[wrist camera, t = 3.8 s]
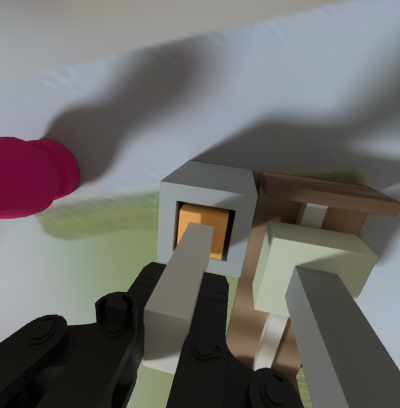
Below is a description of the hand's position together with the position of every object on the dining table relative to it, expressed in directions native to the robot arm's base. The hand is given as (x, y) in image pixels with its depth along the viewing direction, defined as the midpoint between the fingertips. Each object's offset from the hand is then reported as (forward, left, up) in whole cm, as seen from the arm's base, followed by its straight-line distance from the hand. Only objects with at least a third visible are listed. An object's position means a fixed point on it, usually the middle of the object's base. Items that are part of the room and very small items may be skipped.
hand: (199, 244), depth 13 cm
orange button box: (0, 0, -9) cm, 9 cm away
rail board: (-9, -8, -9) cm, 16 cm away
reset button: (0, 0, -7) cm, 7 cm away
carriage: (-4, -8, -6) cm, 11 cm away
